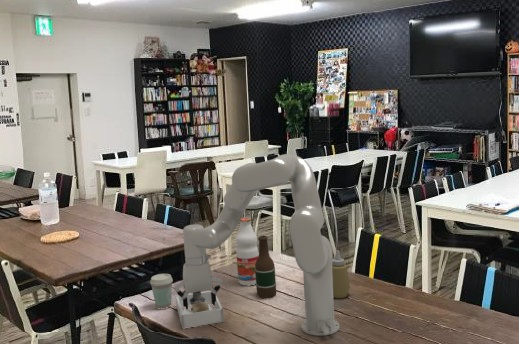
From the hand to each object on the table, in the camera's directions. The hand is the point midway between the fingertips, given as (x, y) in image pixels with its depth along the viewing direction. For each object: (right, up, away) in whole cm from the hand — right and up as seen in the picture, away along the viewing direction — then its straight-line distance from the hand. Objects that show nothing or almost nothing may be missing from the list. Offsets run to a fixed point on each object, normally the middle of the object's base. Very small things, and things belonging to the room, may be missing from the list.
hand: (200, 305), depth 191 cm
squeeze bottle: (+52, 0, +15) cm, 54 cm away
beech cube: (0, -5, +1) cm, 5 cm away
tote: (-1, -5, +5) cm, 7 cm away
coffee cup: (-16, -4, +16) cm, 23 cm away
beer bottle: (+24, -1, +20) cm, 32 cm away
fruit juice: (+17, +1, +36) cm, 40 cm away
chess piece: (-2, -4, +10) cm, 11 cm away
